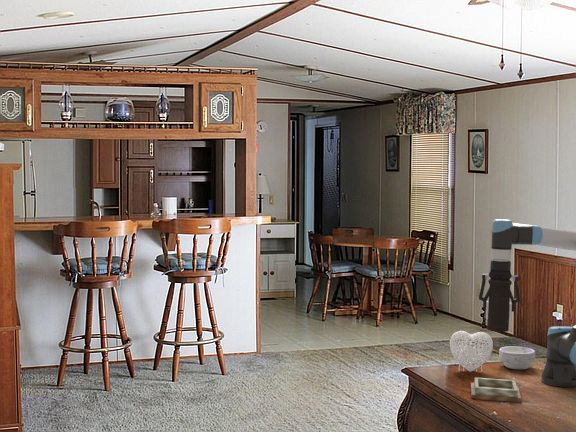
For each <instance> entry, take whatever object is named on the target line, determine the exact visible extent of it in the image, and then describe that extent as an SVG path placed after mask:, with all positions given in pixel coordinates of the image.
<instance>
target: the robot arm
mask: <svg viewBox="0 0 576 432" xmlns="http://www.w3.org/2000/svg"><path fill="white" fill-rule="evenodd" d="M512 245H524V246H527V245H528V246H529V245H531V246H540V247H548V248H555V249H561V250H562V249H563V250H567V251H572V252H573V251H575V252H576V231H573V230H572V231H571V230H566V229H565V230H564V229H558V228H553V227H551V228H550V227H545V226H540V225H537V224H536V225H535V224H525V223H524V224H523V223H518V222H514V221H513V220H512V219H500V218H497V219H496V218H495V219H494V220H493V221H492V225H491V247H490V248H491V249H490V259H491V260H490V266H489V273H482V274H481V284H480V285H481V286H480V290H479V295H478V300H479V301H482V304H483V305H482V309H483V311H485V320H488V305H489V295H490V286H489V287H488V289H487V290H486V293H485V295H484V292H485V287H486V282H487V281H488V280H489V279H494V280H498V279H503V280H510V281H512V282H513V284H514V291H515V298H514V295H513V293H512V290H511V289H510V304H509V322H510V321H512V312H515V308H516V306H515V305H516V303H519V302H521V299H520V297H521V296H520V292H519V291H520V290H519V276H518V275H516V274H515V275H514V274H512V272H511V271H512V270H511V269H512V268H511V266H512V262H511V260H512V249H513V248H512ZM488 278H489V279H488ZM511 279H512V280H511ZM486 280H487V281H486ZM483 295H484V296H483ZM547 330H548V331H547V335H546V337H547V340H546V341H547V343H546V346H547V347H546V363H545V366H544V369H543V371H542V373H541V379H540V381H541V382H542V383H544V384H546V385H548V386H552V387H559V386H560V387H561V388H575V386H576V325H573V326H563V325H561V326H558V325H557V326H550V327H548V329H547Z"/></svg>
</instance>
